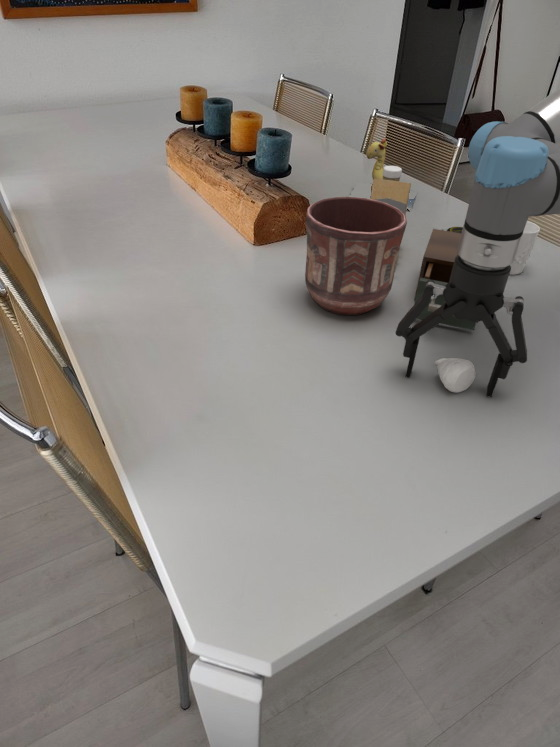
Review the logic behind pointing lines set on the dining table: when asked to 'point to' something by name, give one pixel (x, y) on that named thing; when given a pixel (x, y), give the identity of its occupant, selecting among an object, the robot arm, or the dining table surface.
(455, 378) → the garlic bulb
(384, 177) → the sprinkles bottle
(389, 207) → the pottery
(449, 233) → the cabinet
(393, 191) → the sandwich container
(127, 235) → the dining table surface
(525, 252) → the white cup
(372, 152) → the stuffed giraffe
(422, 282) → the drawer
